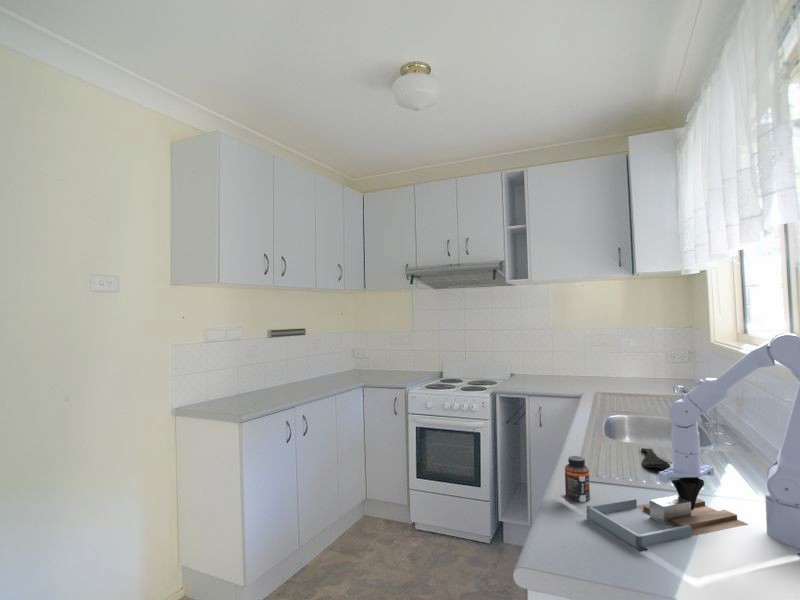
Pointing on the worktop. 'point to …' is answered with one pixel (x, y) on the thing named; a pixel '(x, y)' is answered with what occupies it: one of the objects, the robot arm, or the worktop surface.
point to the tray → (627, 535)
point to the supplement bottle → (577, 480)
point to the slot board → (704, 519)
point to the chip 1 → (663, 510)
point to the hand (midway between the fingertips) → (687, 508)
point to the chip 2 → (681, 505)
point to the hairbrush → (654, 460)
